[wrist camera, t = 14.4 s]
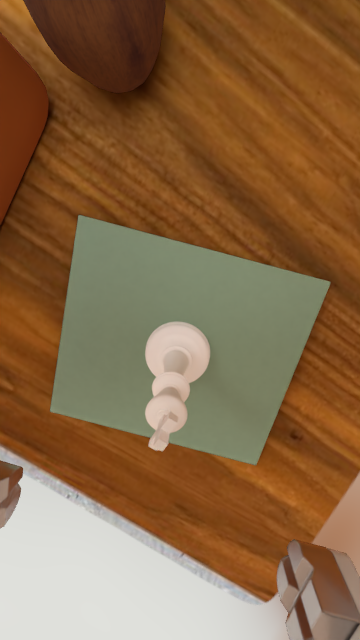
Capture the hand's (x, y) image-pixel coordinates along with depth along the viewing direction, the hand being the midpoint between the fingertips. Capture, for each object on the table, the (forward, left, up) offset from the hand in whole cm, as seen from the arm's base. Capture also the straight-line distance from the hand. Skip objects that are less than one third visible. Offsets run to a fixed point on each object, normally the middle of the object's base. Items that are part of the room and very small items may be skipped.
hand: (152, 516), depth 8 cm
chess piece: (0, 0, -13) cm, 13 cm away
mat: (0, 0, -14) cm, 13 cm away
